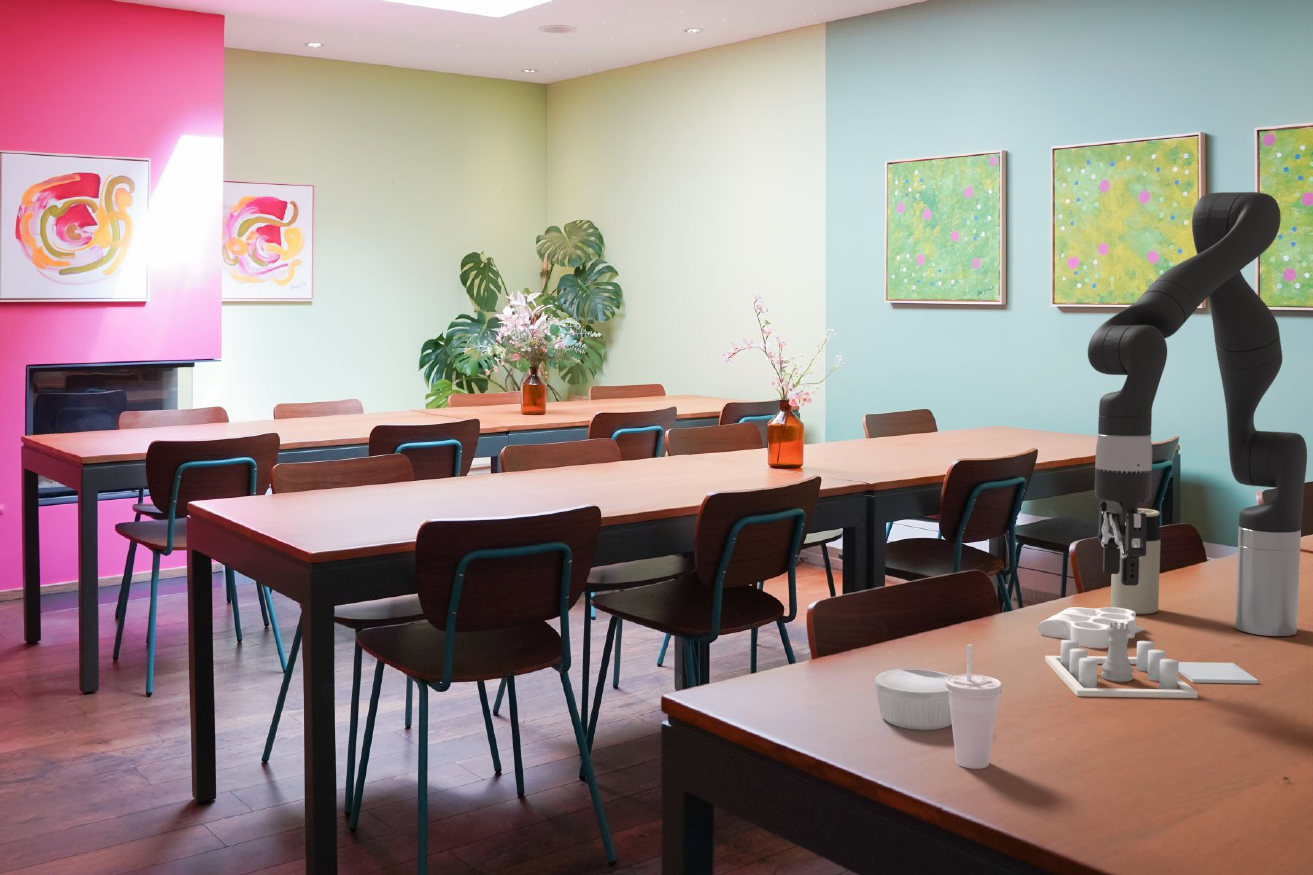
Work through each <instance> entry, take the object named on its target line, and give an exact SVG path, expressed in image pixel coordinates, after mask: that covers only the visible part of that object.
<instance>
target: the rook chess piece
mask: <svg viewBox="0 0 1313 875" xmlns="http://www.w3.org/2000/svg"><path fill="white" fill-rule="evenodd" d="M1106 631H1107V632H1108V633H1109V635H1110V638H1109V639H1108V642H1109V646H1108V652H1107V655H1106V656H1107V659H1106V660H1105V663H1104V664H1101V670H1102V672H1100V676H1101V677H1102V678H1103V679H1104V680H1105V681H1108V682H1113V683H1129V682H1131V681H1132V680H1133V679H1134V677H1135V676H1134V675H1133V674H1132V673H1133V672H1134V668H1133V666H1132V664H1130V662H1129V660H1128V657H1129V656H1128V655H1129V654H1128V644H1129V639H1128V640H1127V636H1128V635H1129V633H1130V630H1129V629H1128V624H1125V625H1124V623H1120V625H1117V622H1114V625H1113V623H1109V627H1108V628H1107V629H1106Z"/></svg>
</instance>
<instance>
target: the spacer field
mask: <svg viewBox="0 0 1313 875" xmlns="http://www.w3.org/2000/svg"><path fill="white" fill-rule="evenodd" d="M1155 645H1156V644H1155V642H1153V641H1150V640H1138V641H1137V642H1136V656H1128V660H1129V662H1130V665H1135V666H1136V668H1135V669H1136V670H1138V671H1140V672H1145V673H1146V672H1147V678H1146V679H1147V680H1149V681H1152V682H1159V683H1158V684H1159V685H1158V688H1155V689H1154V688H1109V687H1108V688H1101V687H1099V688H1098V665H1099V664H1101V665H1103V664H1104V663H1105V660H1106V659H1107V656H1108V655H1106V656H1105V655H1104V656H1099V655H1097V656H1095V655H1093V656H1092V655H1090V656H1089V655H1088V650H1087V649H1083V648H1079V646H1078V642H1077V641H1074V640H1068V639H1062V640H1060V655H1045V656H1044V661H1045V663H1047V665H1048V666H1049V667H1050V668H1051V669H1052V670H1053V672H1055V673H1056V675H1057V676H1058V677H1059V679H1061V680H1062V681H1063V682H1064V683H1065V684H1066V685H1067V687H1068V688H1069V689H1070V690H1071V691H1072V692H1073V693H1074V695H1076V697H1099V698H1101V697H1102V698H1109V697H1110V698H1111V697H1112V698H1161V699H1162V698H1163V699H1164V698H1165V699H1167V698H1169V699H1176V698H1177V699H1198V696H1199V695H1198V691H1197V690H1195V689H1194V688H1193V687H1191V686H1190V685H1189V684H1188V683H1187V682H1185V681H1184V680H1183V679H1182V678H1181V677H1180V676H1179V672H1178V666H1179V662H1180V661H1179V660H1176V659H1173V658H1167V651H1165V650H1161V649H1155Z"/></svg>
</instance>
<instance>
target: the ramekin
mask: <svg viewBox="0 0 1313 875" xmlns="http://www.w3.org/2000/svg"><path fill="white" fill-rule="evenodd" d="M951 676H953V675H952V674H949V673H944V672H940V671H937V670H929V669H920V668H918V669H917V668H900V669H891V670H890V669H889V670H886V671H883V672H881V673H879V674H877V675H876V677H875V678H874V687H875V689H876V694H877V700H878V701H877V703H878V706H879V707H878V709H879V713H880V715H881V717H883V719H884V720H885V722H887V723H888V724H891V725H893V726H895V727H899V728H902V729H903V728H904V729H908V730H919V731H920V730H921V731H930V730H931V731H932V730H940V729H944V728H947V727H950V726H952V721H951V712H950V704H949V693H948V691H947V690H946V689H945V687H946V679H947V678H949V677H951Z"/></svg>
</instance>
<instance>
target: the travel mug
mask: <svg viewBox="0 0 1313 875" xmlns="http://www.w3.org/2000/svg"><path fill="white" fill-rule="evenodd" d="M1138 513H1146V516H1147V530H1146V552H1147V553H1146V556H1142V557H1141V559H1139V582H1138V584H1137V585H1135V586H1134V585H1123V584H1122V583H1121V558H1122V556H1121V551H1120V572H1119V573H1118V574H1110V575H1111V577H1110V578H1111V580H1110V581H1111V583H1110V607H1114V608H1124V609H1129V610H1132V611H1134V612H1135V613H1136V615H1145V616H1146V615H1151V614H1154V613H1156V612H1157V613H1158V611H1159V602H1160V601H1159V597H1160V596H1159V595H1160V571H1161V569H1160V566H1161V565H1160V563H1161V560H1160V559H1161V537H1162V536H1161V531H1162V530H1161V528H1160V527H1159V524H1158V517H1159V515H1160V511H1158V510H1155V509H1151V508H1140V507H1138ZM1132 547H1134V546H1133V545H1132ZM1117 548H1119V549H1120V547H1117Z"/></svg>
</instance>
